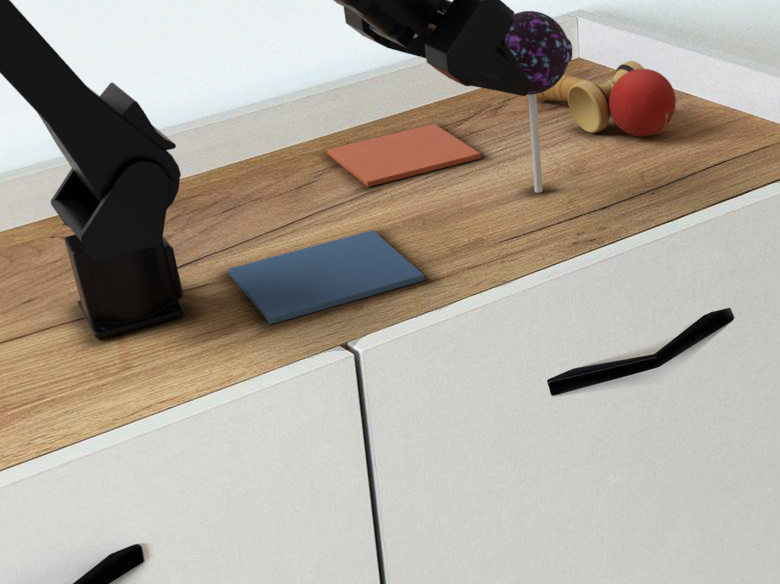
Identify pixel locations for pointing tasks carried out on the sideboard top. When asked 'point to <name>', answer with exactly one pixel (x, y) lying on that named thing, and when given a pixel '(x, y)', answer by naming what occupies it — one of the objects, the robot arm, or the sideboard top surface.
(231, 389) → the sideboard top surface
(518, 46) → the lollipop
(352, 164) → the terracotta pad
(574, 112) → the kendama
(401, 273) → the slate pad
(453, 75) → the robot arm
